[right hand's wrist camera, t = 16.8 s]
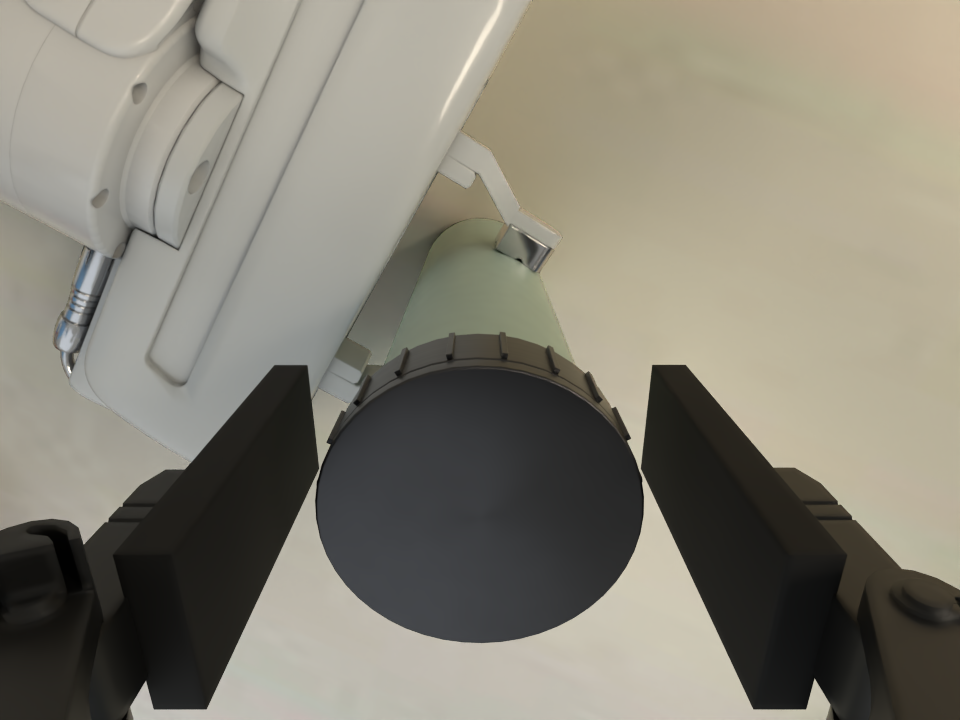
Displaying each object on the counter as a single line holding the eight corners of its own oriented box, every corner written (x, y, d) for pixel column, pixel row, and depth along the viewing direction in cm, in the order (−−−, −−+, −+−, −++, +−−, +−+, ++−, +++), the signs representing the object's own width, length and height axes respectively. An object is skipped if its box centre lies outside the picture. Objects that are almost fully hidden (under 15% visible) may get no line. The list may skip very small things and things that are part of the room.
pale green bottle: (557, 268, 28) (673, 483, 11) (485, 346, 29) (493, 643, 13) (473, 194, 27) (462, 311, 10) (402, 279, 28) (289, 509, 11)
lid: (317, 332, 11) (291, 365, 10) (637, 328, 11) (662, 360, 10) (347, 586, 13) (330, 647, 12) (616, 584, 13) (634, 644, 12)
